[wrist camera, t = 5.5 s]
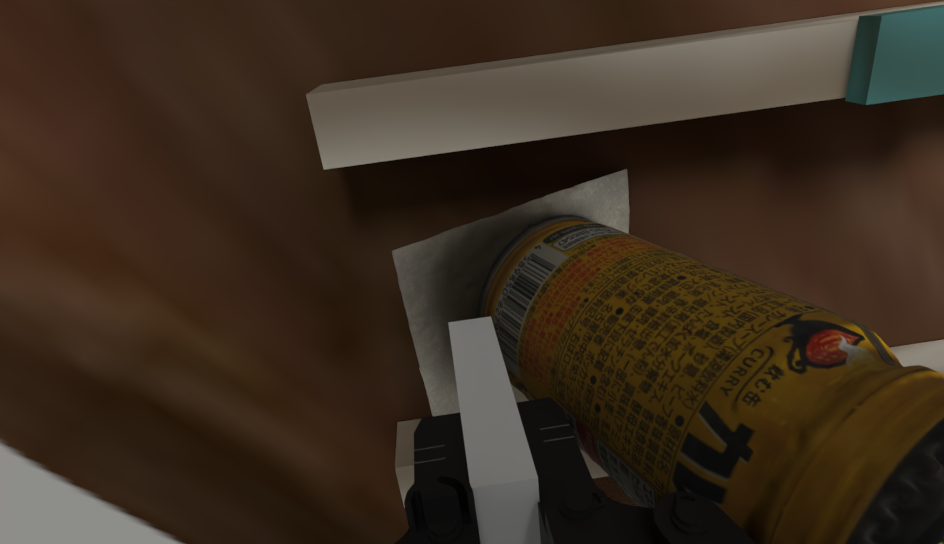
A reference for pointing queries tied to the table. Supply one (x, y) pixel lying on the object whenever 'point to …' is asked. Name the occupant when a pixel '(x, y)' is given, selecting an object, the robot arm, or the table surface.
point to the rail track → (633, 101)
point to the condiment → (687, 372)
